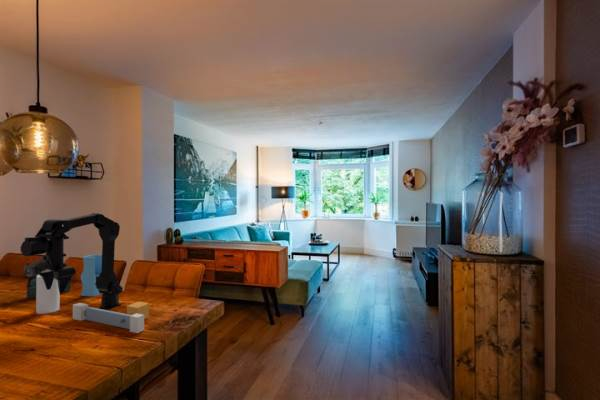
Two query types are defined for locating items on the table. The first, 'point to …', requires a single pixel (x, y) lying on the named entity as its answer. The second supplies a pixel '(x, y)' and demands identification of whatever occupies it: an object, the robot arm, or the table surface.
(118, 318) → the grey end-capped bar
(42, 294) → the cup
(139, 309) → the wedge
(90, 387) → the table surface
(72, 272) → the robot arm
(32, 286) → the ceramic cat
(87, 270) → the vase
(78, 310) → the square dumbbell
